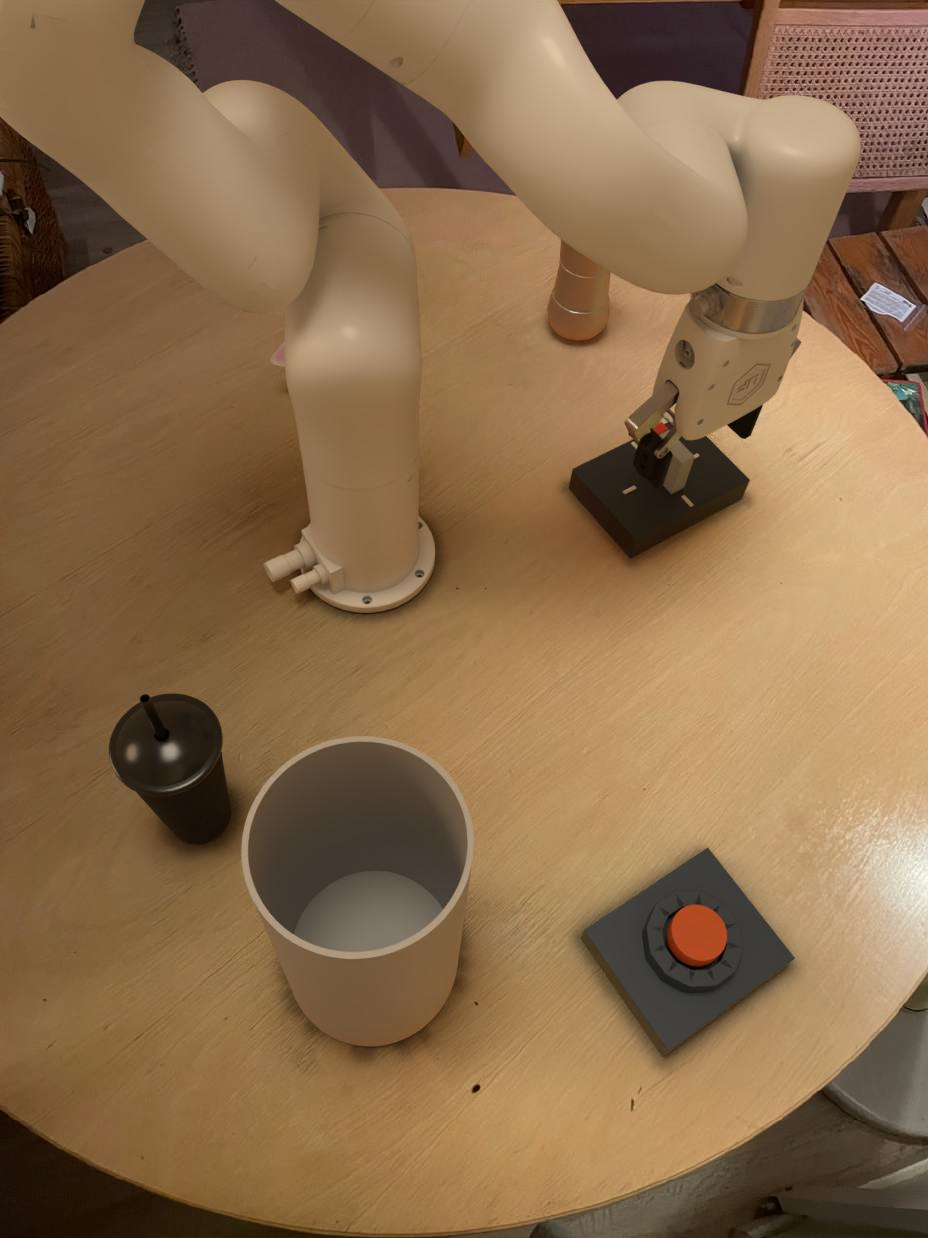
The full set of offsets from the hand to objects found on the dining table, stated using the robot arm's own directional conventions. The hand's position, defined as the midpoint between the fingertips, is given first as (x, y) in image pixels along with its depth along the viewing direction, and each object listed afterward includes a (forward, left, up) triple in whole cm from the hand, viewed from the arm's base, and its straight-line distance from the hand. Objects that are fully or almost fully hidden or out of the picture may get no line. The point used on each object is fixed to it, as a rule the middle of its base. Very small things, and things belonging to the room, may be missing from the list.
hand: (691, 451), depth 86 cm
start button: (-22, -30, -11) cm, 39 cm away
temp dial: (+4, +6, -11) cm, 13 cm away
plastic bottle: (+11, +29, -14) cm, 34 cm away
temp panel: (+4, +6, -14) cm, 16 cm away
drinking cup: (-48, -1, -14) cm, 50 cm away
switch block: (-22, -30, -14) cm, 40 cm away
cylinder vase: (-42, -18, -14) cm, 48 cm away
